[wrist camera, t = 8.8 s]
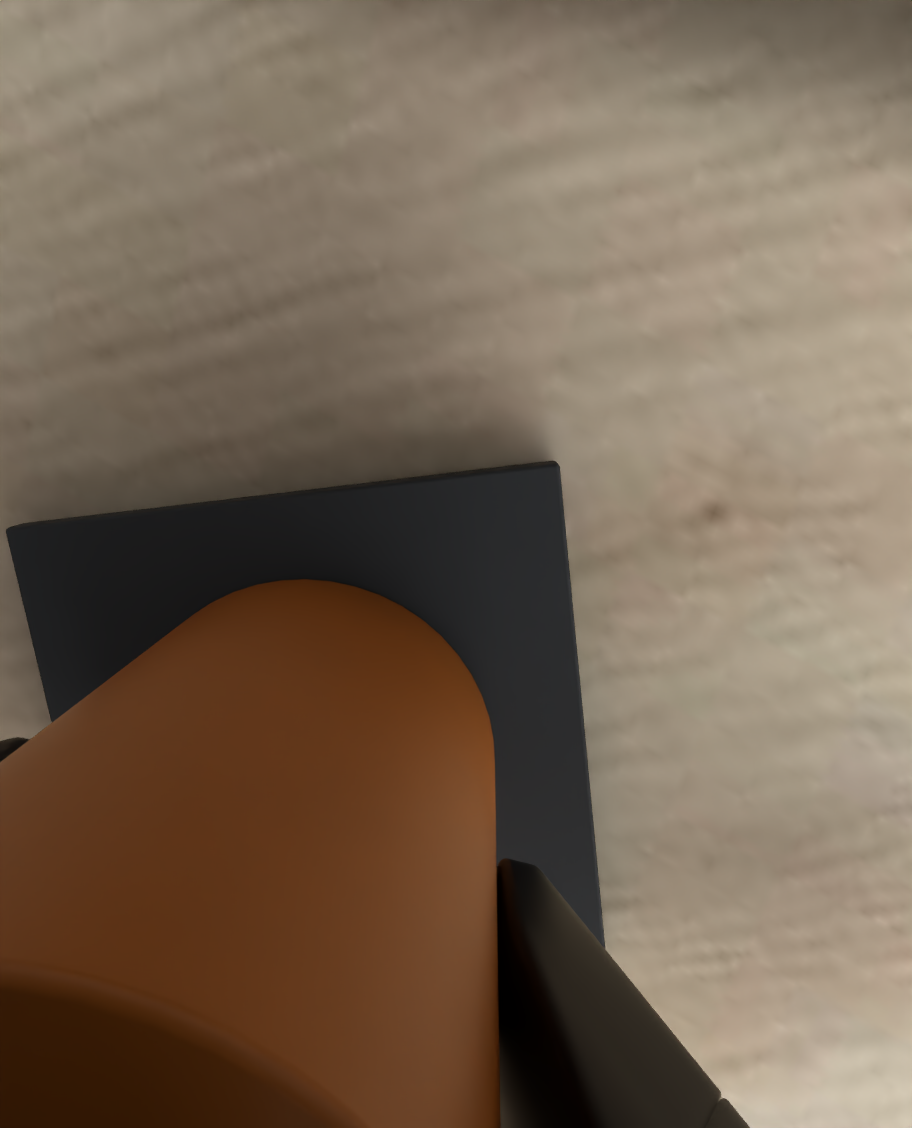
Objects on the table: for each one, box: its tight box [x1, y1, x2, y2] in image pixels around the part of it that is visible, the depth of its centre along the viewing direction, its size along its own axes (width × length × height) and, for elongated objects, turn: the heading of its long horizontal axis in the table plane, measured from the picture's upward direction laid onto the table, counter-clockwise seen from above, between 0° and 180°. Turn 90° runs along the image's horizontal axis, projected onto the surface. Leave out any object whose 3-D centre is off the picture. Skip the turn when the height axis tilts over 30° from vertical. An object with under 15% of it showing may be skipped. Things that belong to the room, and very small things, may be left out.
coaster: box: [6, 461, 605, 949], centre depth 11 cm, size 7×7×1 cm
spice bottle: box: [0, 579, 501, 1128], centre depth 6 cm, size 5×5×9 cm
